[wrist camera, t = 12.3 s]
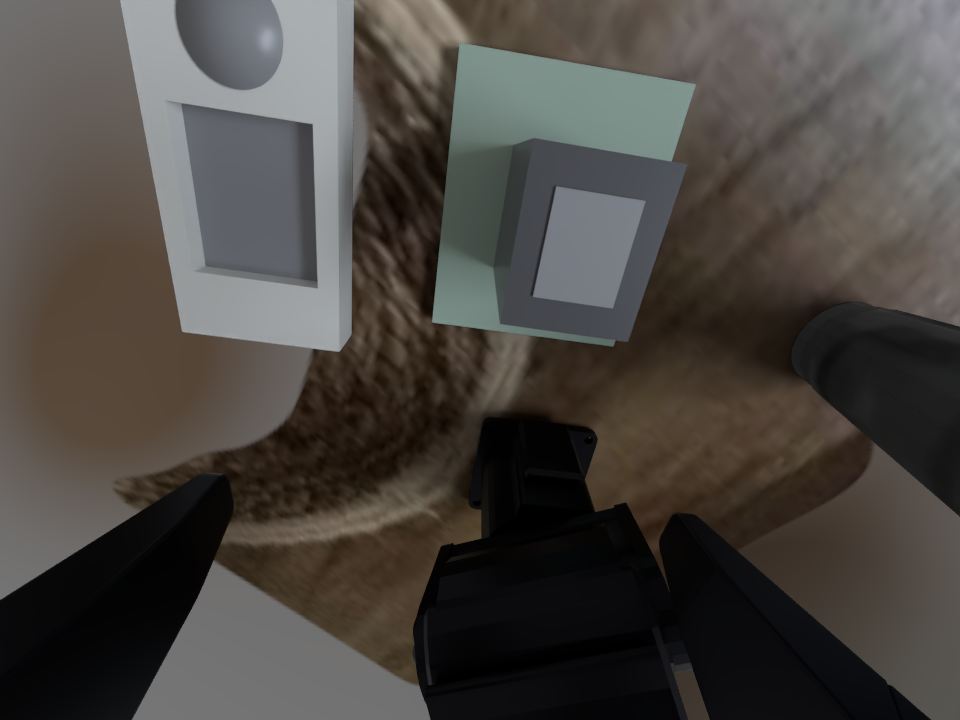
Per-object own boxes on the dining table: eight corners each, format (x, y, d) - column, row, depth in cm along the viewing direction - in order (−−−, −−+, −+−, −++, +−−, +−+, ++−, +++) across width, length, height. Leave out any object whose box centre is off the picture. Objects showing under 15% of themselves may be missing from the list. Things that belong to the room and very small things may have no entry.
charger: (579, 280, 19) (628, 343, 13) (493, 267, 19) (500, 324, 12) (610, 161, 17) (688, 164, 10) (513, 144, 17) (534, 137, 10)
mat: (609, 341, 21) (613, 346, 20) (433, 317, 20) (432, 322, 20) (688, 86, 16) (695, 84, 16) (460, 46, 16) (459, 42, 15)
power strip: (351, 335, 21) (335, 357, 19) (208, 316, 20) (173, 337, 18) (356, -290, 12) (326, -396, 10) (105, -346, 12) (12, -470, 9)
